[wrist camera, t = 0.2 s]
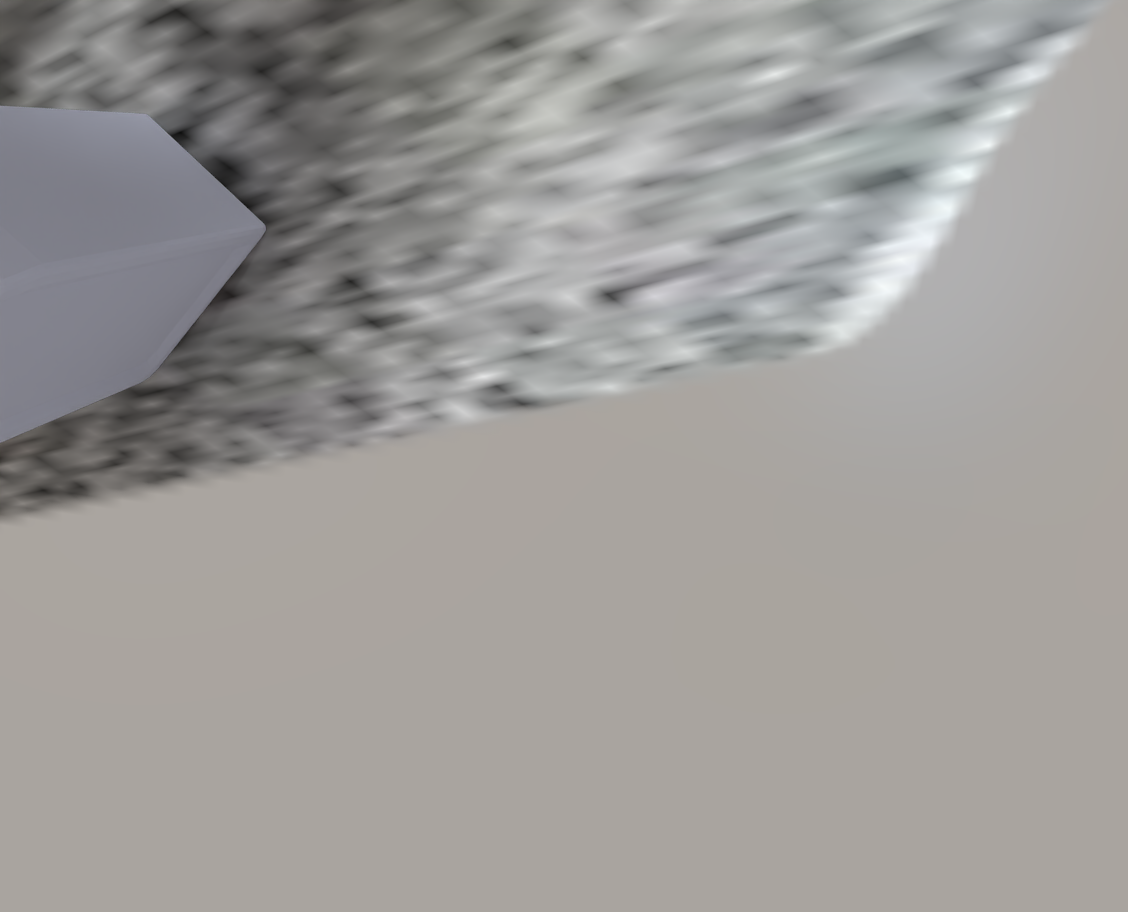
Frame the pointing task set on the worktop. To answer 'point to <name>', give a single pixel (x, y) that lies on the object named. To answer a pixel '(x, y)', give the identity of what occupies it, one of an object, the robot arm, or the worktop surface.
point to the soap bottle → (102, 255)
